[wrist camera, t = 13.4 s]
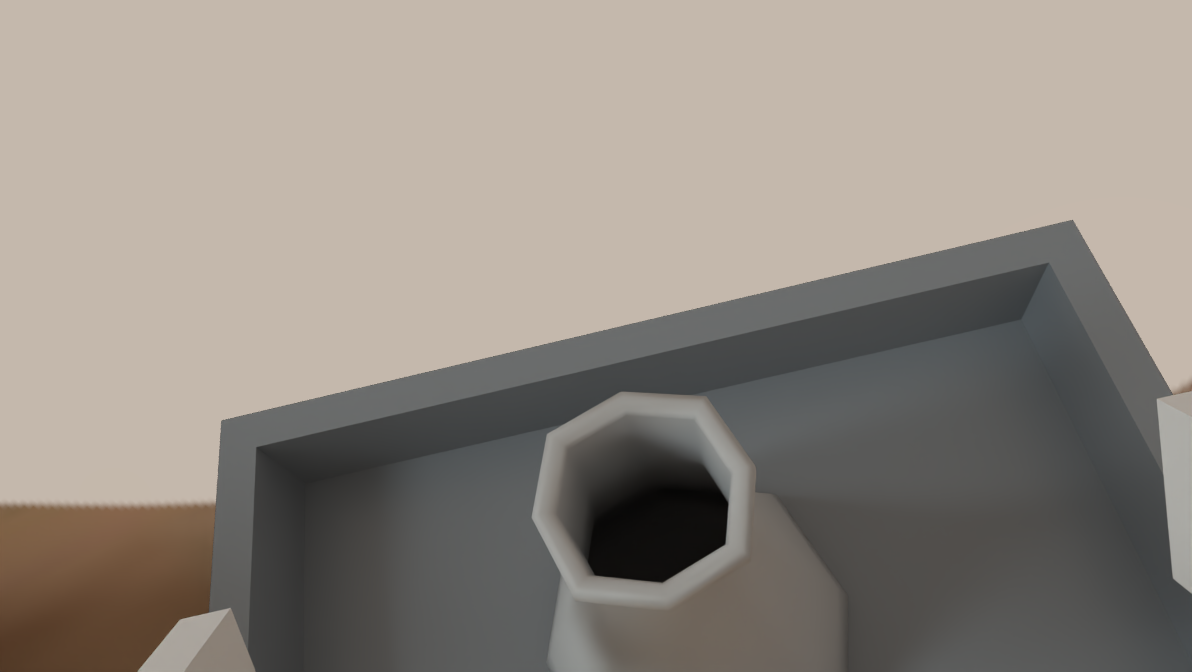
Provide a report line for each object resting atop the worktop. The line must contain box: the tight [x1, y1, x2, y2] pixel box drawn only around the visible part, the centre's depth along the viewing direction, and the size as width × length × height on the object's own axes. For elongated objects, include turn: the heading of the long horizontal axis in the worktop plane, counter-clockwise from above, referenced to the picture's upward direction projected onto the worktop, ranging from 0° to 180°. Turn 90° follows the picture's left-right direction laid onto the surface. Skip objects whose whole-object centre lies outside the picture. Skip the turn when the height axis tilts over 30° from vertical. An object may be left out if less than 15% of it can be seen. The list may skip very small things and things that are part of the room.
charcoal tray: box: [209, 220, 1192, 672], centre depth 20 cm, size 22×14×4 cm, turn 100°
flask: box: [532, 391, 848, 672], centre depth 16 cm, size 7×7×10 cm
